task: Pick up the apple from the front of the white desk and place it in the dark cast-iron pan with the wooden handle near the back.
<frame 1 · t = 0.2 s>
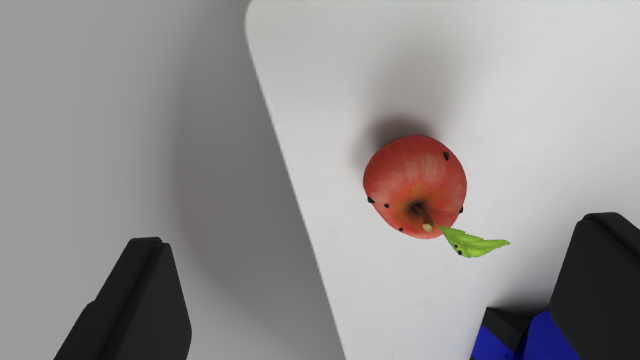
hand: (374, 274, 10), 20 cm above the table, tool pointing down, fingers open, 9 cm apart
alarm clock: (534, 333, 42), on the table
apple: (405, 157, 31), on the table
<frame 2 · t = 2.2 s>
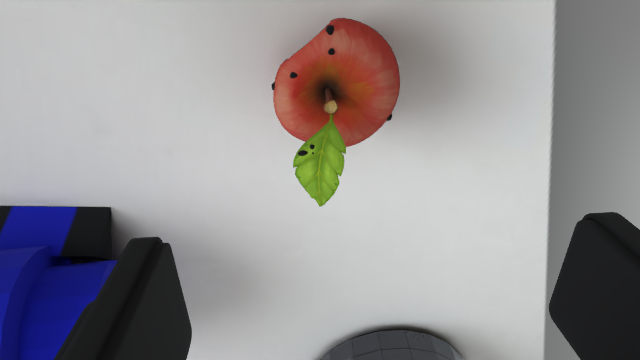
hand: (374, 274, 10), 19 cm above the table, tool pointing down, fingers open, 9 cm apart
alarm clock: (76, 268, 33), on the table
apple: (331, 73, 26), on the table
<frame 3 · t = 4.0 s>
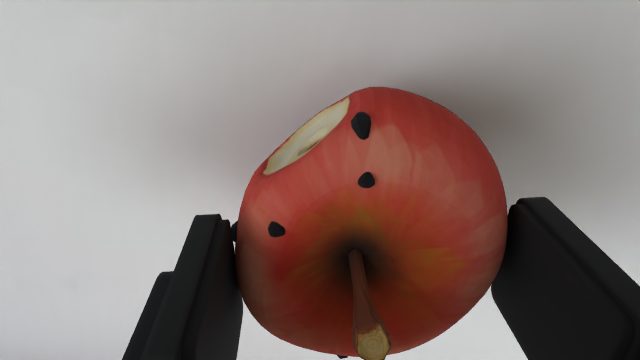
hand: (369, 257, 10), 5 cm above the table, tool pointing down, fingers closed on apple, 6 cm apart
apple: (347, 161, 15), on the table, touching gripper
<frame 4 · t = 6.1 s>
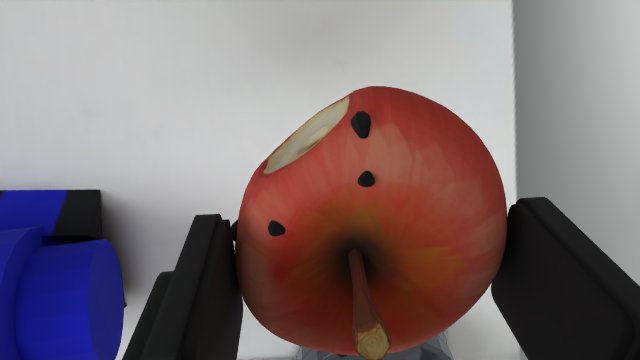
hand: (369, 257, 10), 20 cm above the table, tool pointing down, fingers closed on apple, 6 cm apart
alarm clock: (66, 252, 34), on the table
pan: (370, 355, 43), on the table
apple: (347, 161, 15), point 15 cm above the table, touching gripper
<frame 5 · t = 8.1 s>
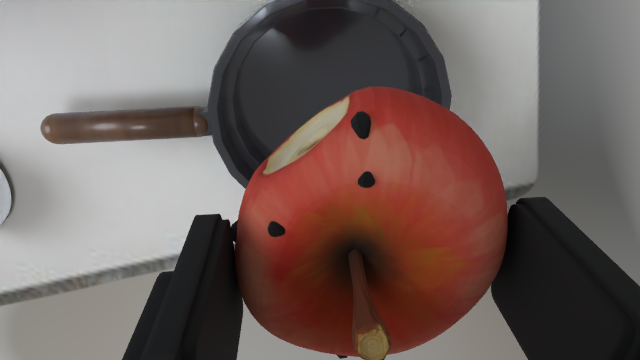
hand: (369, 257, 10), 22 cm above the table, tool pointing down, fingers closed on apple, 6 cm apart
pan handle: (133, 125, 27), point 3 cm above the table
pan: (326, 98, 30), on the table
apple: (347, 161, 15), point 16 cm above the table, touching gripper
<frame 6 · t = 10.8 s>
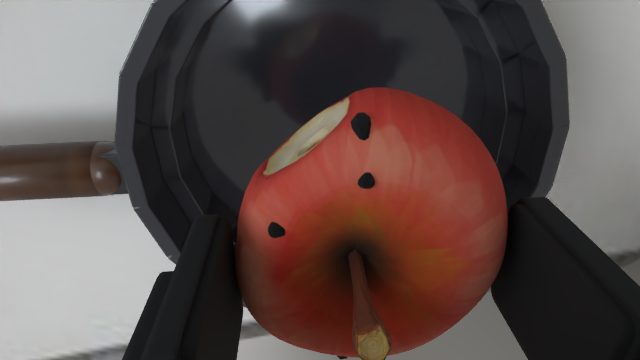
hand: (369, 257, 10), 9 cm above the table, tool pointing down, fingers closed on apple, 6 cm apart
pan: (335, 122, 18), on the table
apple: (347, 162, 15), point 4 cm above the table, touching gripper
when the fingers open (6 cm above the table, at t = 12.4 s): apple stays where it is, resting on pan.
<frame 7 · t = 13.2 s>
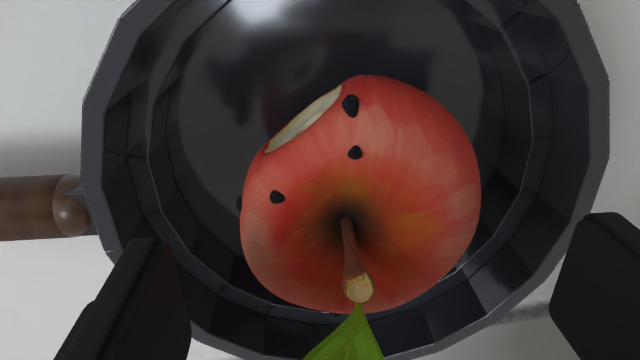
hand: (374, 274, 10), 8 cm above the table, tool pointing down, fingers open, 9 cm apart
pan: (337, 146, 16), on the table
apple: (342, 148, 16), resting on pan
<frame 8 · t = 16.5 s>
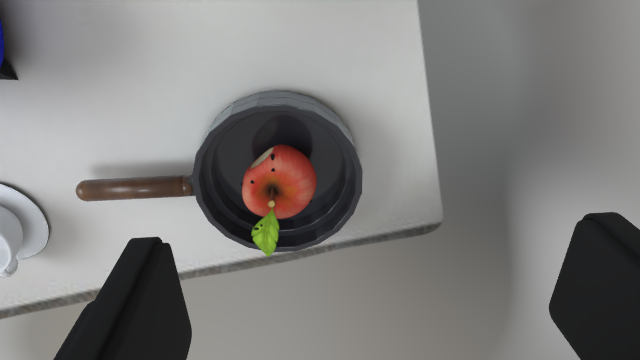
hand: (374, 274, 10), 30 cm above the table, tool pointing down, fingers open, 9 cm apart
teacup: (1, 219, 43), on the table
pan handle: (140, 188, 38), point 3 cm above the table
pan: (280, 164, 42), on the table
apple: (281, 165, 41), resting on pan
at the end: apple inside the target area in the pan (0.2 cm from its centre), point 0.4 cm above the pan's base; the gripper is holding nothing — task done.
